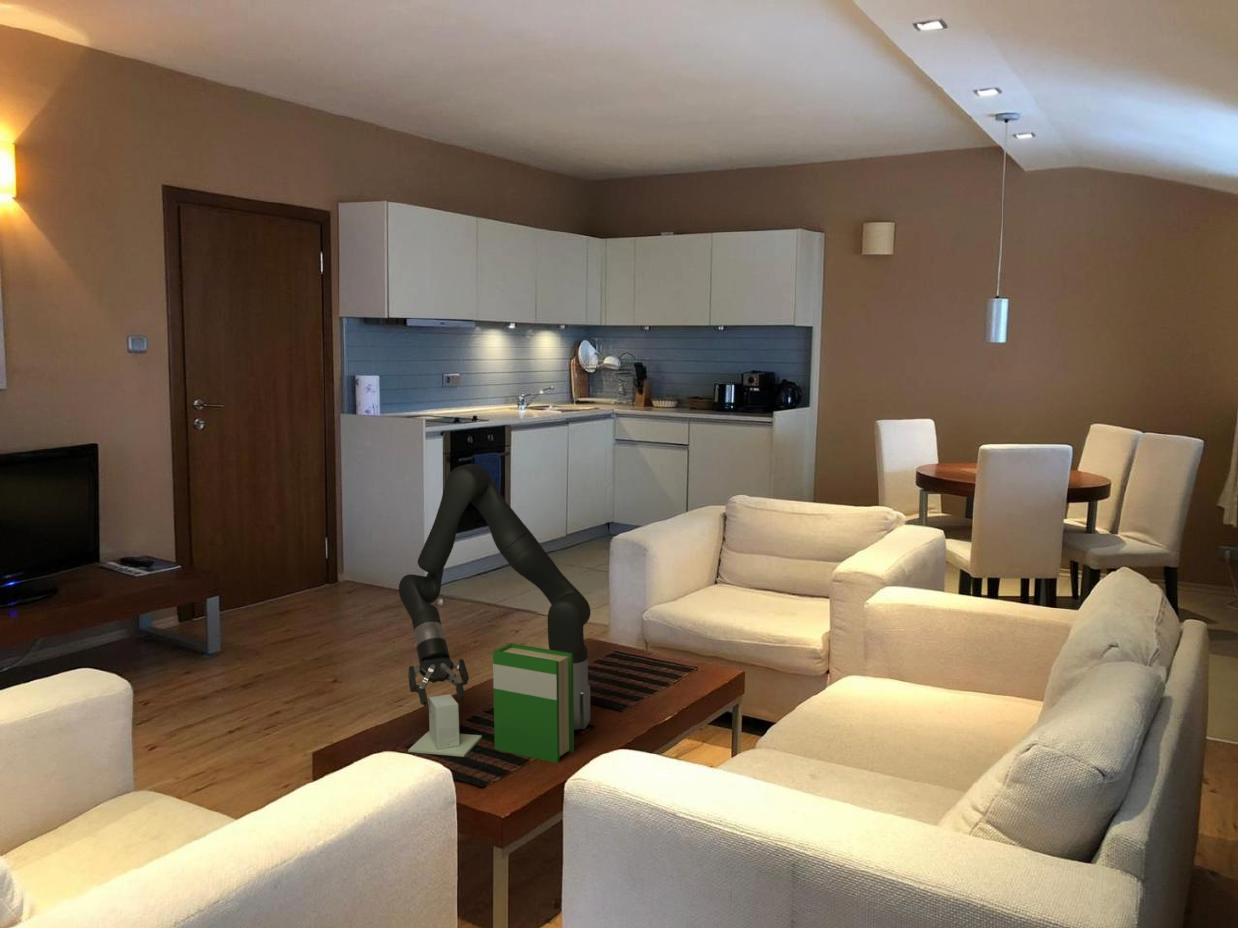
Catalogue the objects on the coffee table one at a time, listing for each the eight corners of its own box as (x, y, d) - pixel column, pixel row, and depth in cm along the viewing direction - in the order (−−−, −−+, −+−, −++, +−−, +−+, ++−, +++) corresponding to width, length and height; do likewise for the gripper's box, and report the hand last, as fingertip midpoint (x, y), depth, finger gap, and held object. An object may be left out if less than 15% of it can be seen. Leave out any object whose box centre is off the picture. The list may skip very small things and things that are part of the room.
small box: (459, 746, 240) (459, 703, 239) (436, 750, 238) (435, 707, 237) (451, 734, 248) (450, 693, 246) (429, 738, 245) (428, 696, 244)
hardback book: (573, 751, 238) (573, 653, 235) (557, 763, 232) (556, 661, 229) (512, 738, 246) (510, 643, 244) (494, 748, 240) (492, 651, 237)
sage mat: (481, 737, 247) (481, 735, 247) (463, 756, 235) (463, 754, 235) (428, 733, 250) (428, 731, 250) (408, 751, 238) (408, 749, 238)
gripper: (404, 640, 247) (416, 699, 237) (461, 633, 252) (475, 691, 243) (400, 655, 252) (412, 714, 243) (456, 648, 258) (469, 705, 249)
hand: (443, 702), depth 243 cm, fingers open, 8 cm apart
